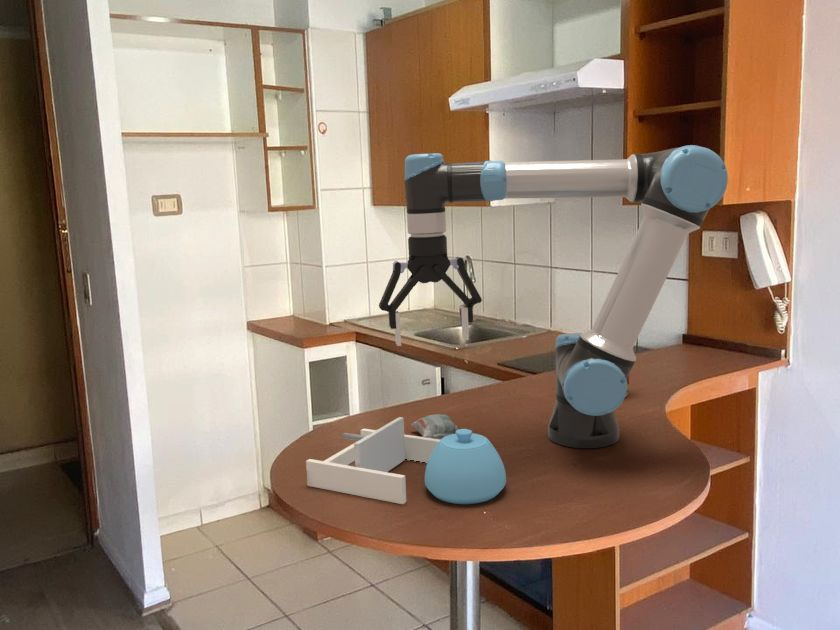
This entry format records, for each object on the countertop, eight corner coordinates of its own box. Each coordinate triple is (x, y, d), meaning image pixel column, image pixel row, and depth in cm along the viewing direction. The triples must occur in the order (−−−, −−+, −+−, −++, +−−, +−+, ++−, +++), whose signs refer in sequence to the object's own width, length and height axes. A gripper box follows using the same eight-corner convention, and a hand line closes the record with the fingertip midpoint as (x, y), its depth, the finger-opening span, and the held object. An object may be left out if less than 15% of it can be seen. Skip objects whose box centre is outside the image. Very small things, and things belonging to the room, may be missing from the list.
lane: (453, 465, 155) (452, 441, 154) (403, 504, 138) (401, 477, 137) (364, 450, 165) (363, 428, 164) (307, 485, 148) (305, 460, 147)
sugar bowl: (446, 514, 133) (444, 450, 131) (412, 484, 147) (410, 425, 145) (521, 497, 139) (520, 435, 137) (482, 469, 153) (480, 413, 150)
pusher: (405, 459, 158) (403, 417, 157) (361, 490, 144) (358, 444, 142) (368, 453, 163) (366, 412, 161) (321, 482, 148) (318, 437, 146)
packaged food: (422, 449, 165) (422, 427, 164) (411, 432, 176) (410, 411, 175) (462, 445, 167) (461, 423, 166) (447, 428, 178) (447, 408, 177)
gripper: (484, 229, 155) (488, 332, 159) (361, 237, 152) (368, 342, 155) (494, 232, 148) (497, 340, 152) (364, 240, 144) (371, 350, 148)
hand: (432, 341), depth 154 cm, fingers open, 13 cm apart
